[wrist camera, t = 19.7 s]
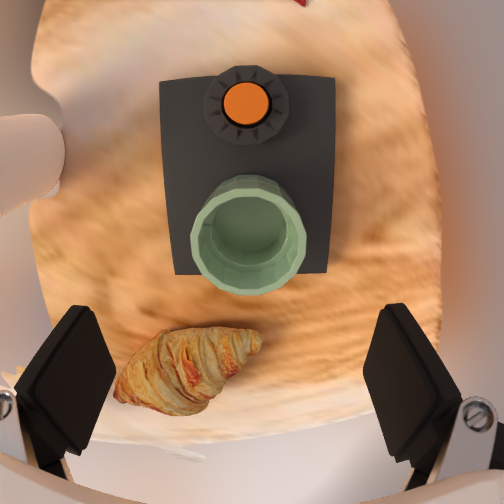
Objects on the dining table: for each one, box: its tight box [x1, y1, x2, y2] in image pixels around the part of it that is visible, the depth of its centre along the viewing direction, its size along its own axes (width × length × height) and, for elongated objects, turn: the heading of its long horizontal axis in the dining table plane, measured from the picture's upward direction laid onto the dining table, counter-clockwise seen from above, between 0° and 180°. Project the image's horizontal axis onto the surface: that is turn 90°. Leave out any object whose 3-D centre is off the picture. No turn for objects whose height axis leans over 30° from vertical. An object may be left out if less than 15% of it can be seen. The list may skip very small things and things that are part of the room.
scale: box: [159, 65, 335, 275], centre depth 21 cm, size 16×13×3 cm
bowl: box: [190, 175, 307, 295], centre depth 20 cm, size 7×7×6 cm
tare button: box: [224, 83, 269, 125], centre depth 17 cm, size 3×3×2 cm
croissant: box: [113, 327, 263, 416], centre depth 28 cm, size 21×10×8 cm, turn 123°
